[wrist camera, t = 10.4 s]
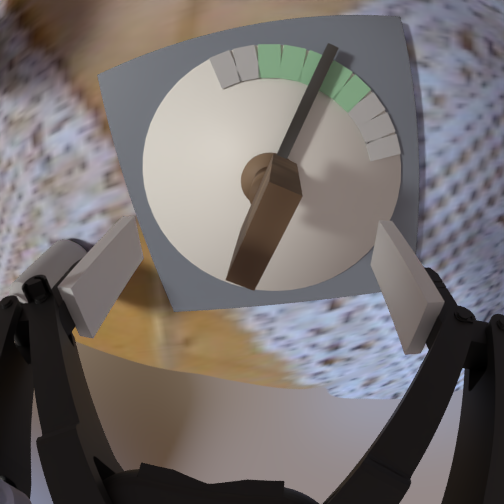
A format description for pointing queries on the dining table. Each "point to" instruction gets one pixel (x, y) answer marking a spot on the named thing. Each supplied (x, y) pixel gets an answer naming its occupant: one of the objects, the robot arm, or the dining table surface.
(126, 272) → the robot arm
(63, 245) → the can
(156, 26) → the dining table surface
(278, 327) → the dining table surface
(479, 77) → the dining table surface
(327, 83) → the dial board
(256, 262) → the dial pointer knob
